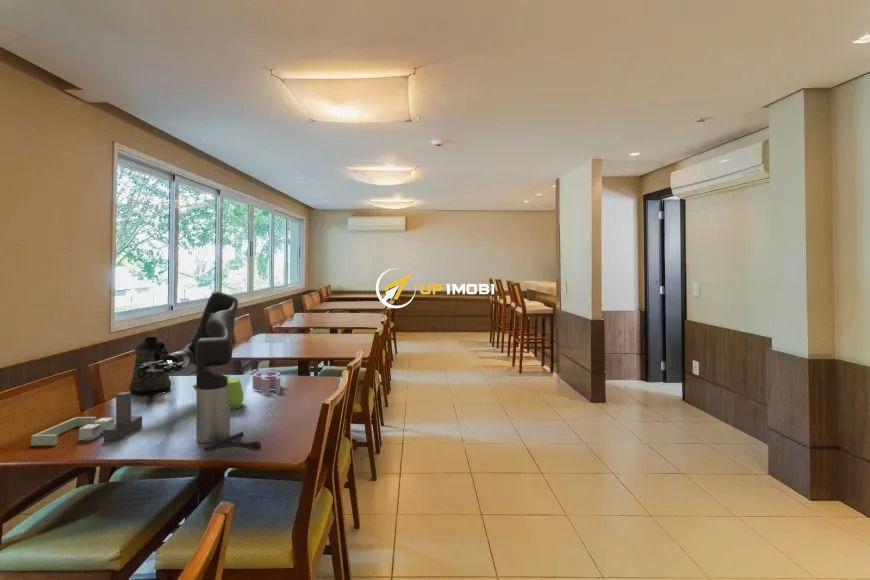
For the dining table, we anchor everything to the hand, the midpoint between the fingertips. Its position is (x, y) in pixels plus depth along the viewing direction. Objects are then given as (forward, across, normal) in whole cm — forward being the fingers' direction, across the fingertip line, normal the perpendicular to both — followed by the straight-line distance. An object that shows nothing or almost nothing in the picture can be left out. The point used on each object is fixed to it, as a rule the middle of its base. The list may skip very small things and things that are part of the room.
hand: (152, 370), depth 164 cm
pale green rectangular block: (+14, -20, +19) cm, 30 cm away
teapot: (-16, +17, +19) cm, 30 cm away
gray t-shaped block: (+14, -2, +19) cm, 23 cm away
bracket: (+26, +41, +19) cm, 52 cm away
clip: (-46, +28, +20) cm, 57 cm away
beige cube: (+10, -10, +19) cm, 24 cm away
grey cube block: (+18, -10, +19) cm, 28 cm away
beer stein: (-43, -23, +20) cm, 52 cm away
